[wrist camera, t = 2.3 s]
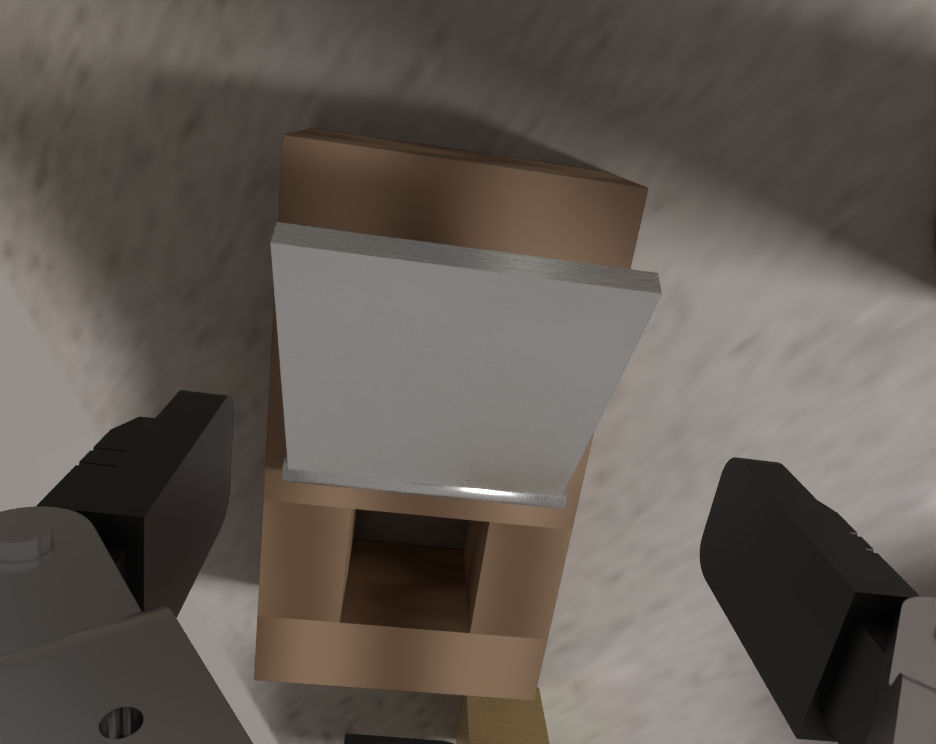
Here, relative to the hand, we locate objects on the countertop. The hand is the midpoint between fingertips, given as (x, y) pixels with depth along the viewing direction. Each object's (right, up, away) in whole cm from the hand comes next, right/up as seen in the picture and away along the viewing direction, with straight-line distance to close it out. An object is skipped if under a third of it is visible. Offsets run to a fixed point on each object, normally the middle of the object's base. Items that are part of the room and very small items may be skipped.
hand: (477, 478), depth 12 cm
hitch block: (-2, 0, +21) cm, 21 cm away
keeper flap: (-1, +1, +12) cm, 12 cm away
